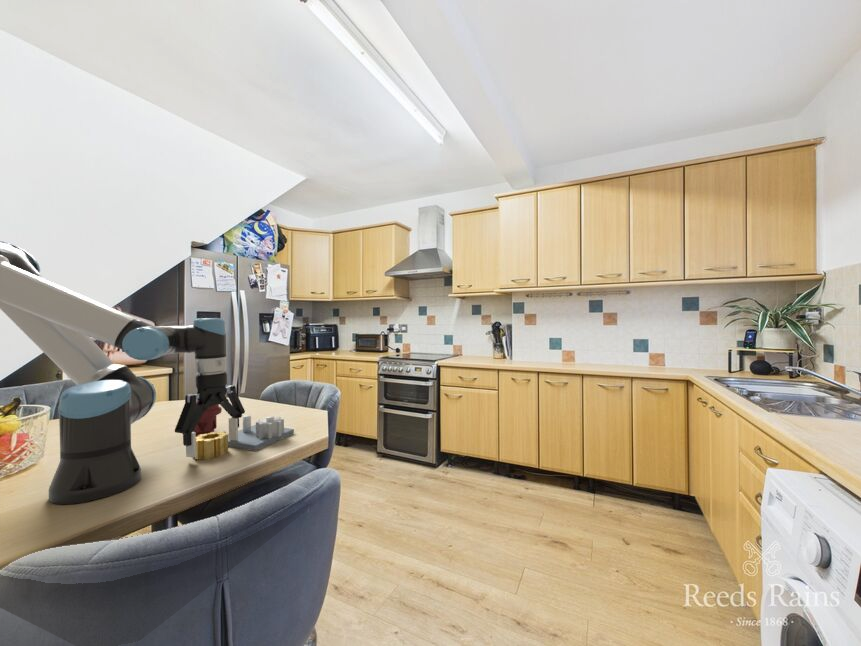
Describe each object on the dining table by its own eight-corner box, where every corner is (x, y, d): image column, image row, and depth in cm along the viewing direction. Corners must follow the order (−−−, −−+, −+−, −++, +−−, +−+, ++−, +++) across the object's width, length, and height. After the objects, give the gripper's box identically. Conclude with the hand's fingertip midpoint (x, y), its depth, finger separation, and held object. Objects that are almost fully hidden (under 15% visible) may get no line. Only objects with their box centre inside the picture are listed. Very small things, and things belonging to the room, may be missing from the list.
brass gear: (207, 461, 94) (207, 443, 94) (185, 457, 97) (185, 439, 97) (235, 450, 102) (234, 433, 102) (213, 446, 105) (213, 430, 105)
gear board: (257, 451, 101) (257, 426, 101) (214, 444, 107) (214, 421, 107) (295, 433, 116) (295, 412, 116) (256, 428, 122) (256, 408, 122)
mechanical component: (201, 428, 122) (228, 429, 121) (178, 438, 112) (207, 439, 111) (201, 393, 122) (228, 394, 121) (177, 400, 112) (206, 400, 111)
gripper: (177, 381, 86) (180, 467, 87) (256, 366, 110) (258, 434, 110) (155, 379, 89) (158, 463, 89) (237, 366, 112) (239, 432, 113)
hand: (213, 447), depth 100 cm, fingers open, 12 cm apart
